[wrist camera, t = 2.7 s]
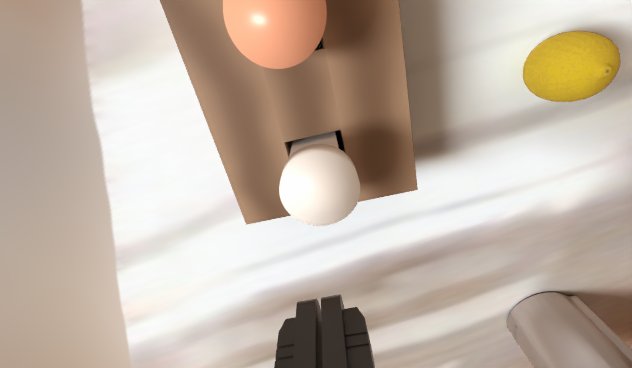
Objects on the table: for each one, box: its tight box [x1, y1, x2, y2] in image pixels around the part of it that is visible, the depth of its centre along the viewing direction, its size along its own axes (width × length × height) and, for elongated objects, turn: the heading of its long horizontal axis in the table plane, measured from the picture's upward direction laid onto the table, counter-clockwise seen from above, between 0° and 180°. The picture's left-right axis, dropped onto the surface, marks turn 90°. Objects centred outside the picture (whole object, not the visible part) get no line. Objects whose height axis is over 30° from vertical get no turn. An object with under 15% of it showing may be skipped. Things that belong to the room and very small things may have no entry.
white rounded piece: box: [279, 131, 360, 226], centre depth 25 cm, size 6×6×8 cm
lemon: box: [523, 31, 620, 102], centre depth 26 cm, size 6×6×8 cm
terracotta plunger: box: [223, 0, 327, 69], centre depth 20 cm, size 6×6×8 cm
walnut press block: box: [160, 0, 418, 224], centre depth 27 cm, size 16×20×7 cm
